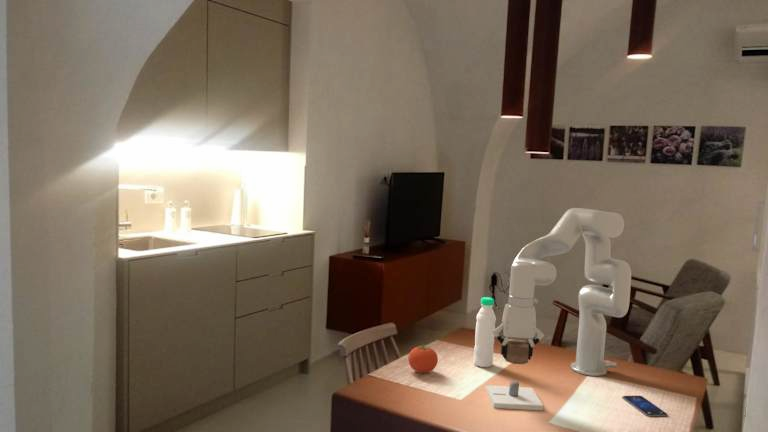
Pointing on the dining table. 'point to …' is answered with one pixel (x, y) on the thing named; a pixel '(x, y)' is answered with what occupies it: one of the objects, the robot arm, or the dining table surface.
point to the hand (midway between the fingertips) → (516, 357)
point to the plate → (513, 397)
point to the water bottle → (484, 334)
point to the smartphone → (645, 406)
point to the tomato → (423, 359)
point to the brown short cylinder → (517, 351)
